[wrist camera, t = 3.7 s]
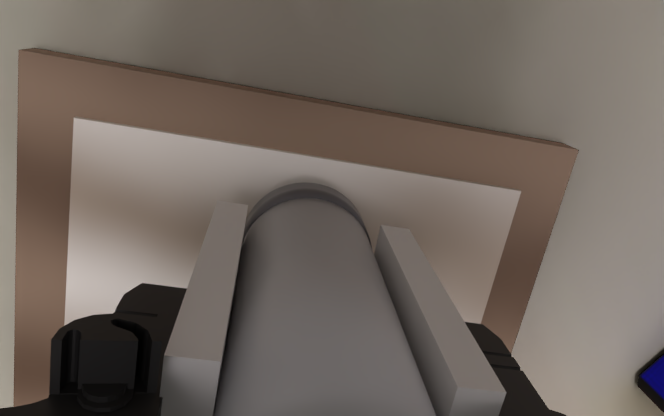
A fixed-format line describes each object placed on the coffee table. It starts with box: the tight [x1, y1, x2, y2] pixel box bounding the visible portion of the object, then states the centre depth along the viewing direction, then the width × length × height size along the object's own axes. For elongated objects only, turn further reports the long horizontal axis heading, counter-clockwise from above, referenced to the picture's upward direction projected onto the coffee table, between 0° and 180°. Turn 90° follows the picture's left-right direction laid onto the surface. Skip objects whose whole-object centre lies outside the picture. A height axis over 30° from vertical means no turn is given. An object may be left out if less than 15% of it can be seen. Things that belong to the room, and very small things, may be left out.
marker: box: [213, 182, 436, 416], centre depth 10 cm, size 4×4×12 cm
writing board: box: [14, 48, 579, 407], centre depth 19 cm, size 22×16×1 cm
